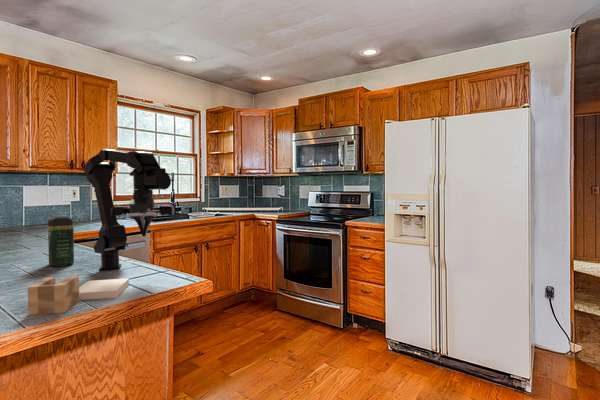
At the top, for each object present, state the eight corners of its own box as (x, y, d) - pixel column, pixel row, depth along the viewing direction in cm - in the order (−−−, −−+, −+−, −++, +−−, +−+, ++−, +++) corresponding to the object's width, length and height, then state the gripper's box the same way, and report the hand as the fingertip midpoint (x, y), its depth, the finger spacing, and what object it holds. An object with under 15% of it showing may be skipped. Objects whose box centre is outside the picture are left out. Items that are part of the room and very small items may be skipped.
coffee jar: (76, 265, 130) (74, 216, 129) (50, 268, 125) (48, 217, 124) (72, 260, 137) (71, 214, 137) (47, 263, 132) (46, 215, 132)
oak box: (47, 302, 88) (46, 277, 88) (79, 300, 90) (78, 275, 89) (28, 314, 80) (27, 287, 80) (64, 312, 81) (63, 285, 81)
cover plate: (88, 280, 102) (128, 278, 104) (89, 288, 102) (129, 286, 104) (69, 293, 90) (115, 290, 92) (70, 302, 90) (115, 299, 92)
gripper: (104, 189, 105) (105, 241, 105) (169, 189, 108) (169, 238, 109) (115, 189, 115) (116, 235, 116) (174, 189, 119) (175, 234, 120)
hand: (144, 236), depth 115 cm, fingers closed
